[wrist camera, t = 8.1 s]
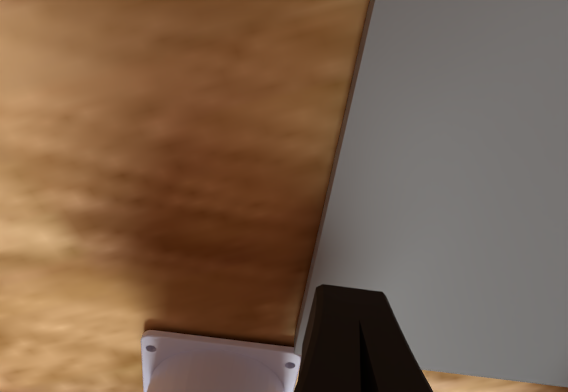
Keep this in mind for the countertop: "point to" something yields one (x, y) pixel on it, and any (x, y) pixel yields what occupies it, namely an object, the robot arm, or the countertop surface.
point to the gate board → (457, 184)
